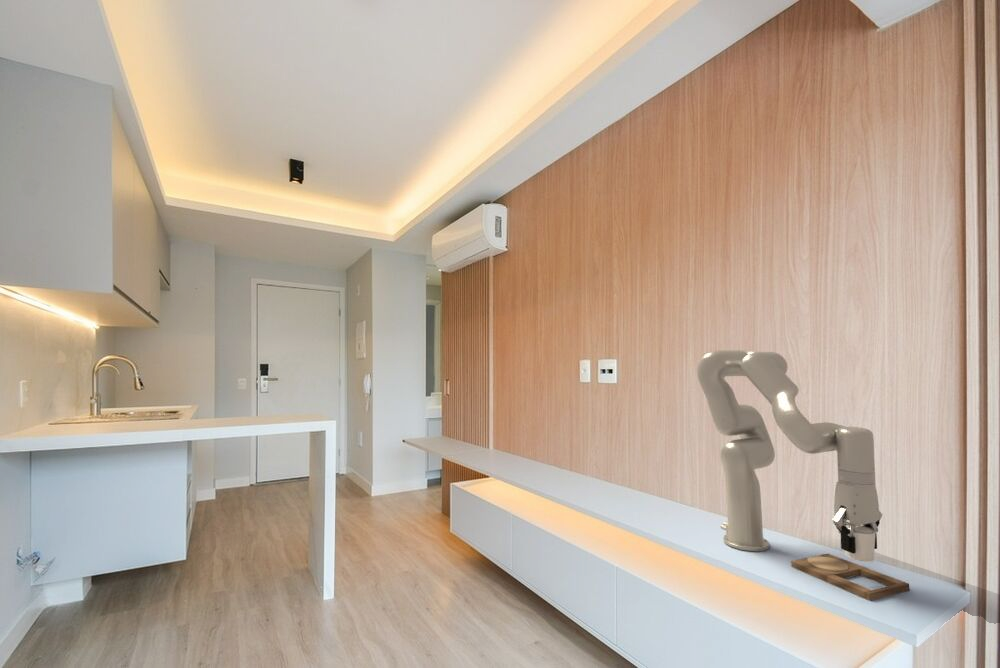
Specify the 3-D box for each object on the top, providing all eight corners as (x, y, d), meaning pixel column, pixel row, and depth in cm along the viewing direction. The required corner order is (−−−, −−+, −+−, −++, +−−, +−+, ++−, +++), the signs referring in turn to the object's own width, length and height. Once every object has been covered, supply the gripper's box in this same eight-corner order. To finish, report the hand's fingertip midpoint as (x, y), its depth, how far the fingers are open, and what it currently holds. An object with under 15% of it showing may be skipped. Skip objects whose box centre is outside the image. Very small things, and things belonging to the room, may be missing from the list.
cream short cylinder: (871, 565, 113) (870, 535, 113) (837, 555, 118) (836, 527, 119) (880, 558, 117) (879, 529, 117) (848, 548, 122) (847, 521, 123)
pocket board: (791, 566, 128) (790, 559, 128) (828, 558, 132) (828, 552, 132) (869, 600, 109) (868, 592, 109) (909, 590, 113) (909, 582, 113)
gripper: (864, 470, 125) (867, 539, 124) (816, 476, 119) (819, 548, 118) (896, 477, 118) (899, 550, 117) (847, 484, 112) (849, 560, 111)
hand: (859, 548), depth 118 cm, fingers closed on cream short cylinder, 6 cm apart
